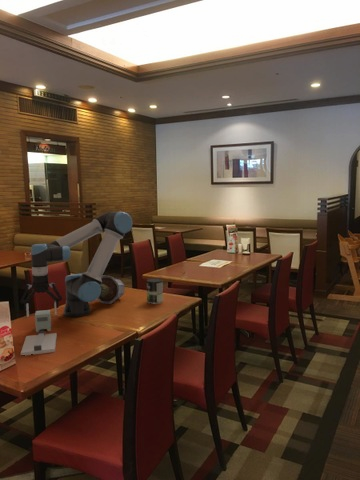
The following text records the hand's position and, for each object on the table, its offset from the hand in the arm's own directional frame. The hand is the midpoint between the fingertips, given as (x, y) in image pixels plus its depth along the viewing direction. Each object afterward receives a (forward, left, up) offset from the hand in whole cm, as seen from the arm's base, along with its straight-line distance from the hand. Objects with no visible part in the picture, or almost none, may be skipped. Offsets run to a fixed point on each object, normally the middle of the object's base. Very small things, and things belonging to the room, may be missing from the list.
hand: (41, 315), depth 200 cm
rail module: (0, 0, -8) cm, 8 cm away
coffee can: (-65, -31, -8) cm, 73 cm away
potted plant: (-35, -37, -8) cm, 51 cm away
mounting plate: (0, +22, -8) cm, 23 cm away
